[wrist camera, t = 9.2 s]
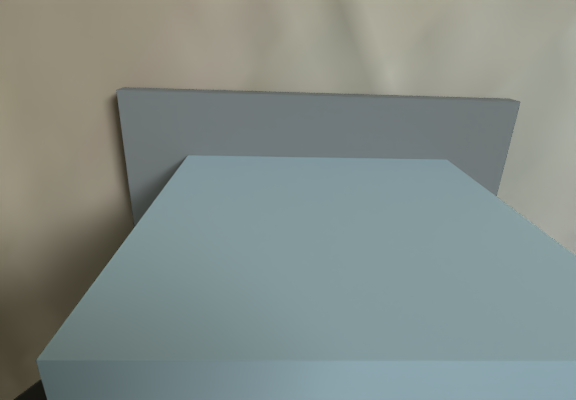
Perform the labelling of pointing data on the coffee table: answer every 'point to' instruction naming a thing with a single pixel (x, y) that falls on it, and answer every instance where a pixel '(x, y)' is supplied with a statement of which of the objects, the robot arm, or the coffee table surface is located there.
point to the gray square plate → (307, 131)
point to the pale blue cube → (323, 291)
